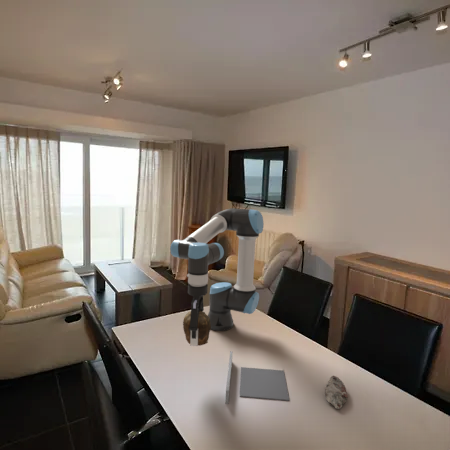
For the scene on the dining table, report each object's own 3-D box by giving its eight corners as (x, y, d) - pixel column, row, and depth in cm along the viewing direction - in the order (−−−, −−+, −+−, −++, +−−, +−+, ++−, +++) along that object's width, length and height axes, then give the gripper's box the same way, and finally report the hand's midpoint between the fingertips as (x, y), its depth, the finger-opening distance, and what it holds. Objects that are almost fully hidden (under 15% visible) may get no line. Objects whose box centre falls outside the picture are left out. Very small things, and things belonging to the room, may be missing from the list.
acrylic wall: (229, 362, 136) (230, 351, 135) (232, 362, 136) (232, 351, 135) (225, 403, 110) (225, 390, 109) (228, 403, 110) (228, 390, 109)
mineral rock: (342, 414, 107) (343, 402, 107) (319, 404, 112) (320, 393, 111) (351, 391, 120) (353, 380, 119) (330, 383, 124) (331, 373, 123)
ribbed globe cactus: (176, 343, 119) (177, 314, 118) (192, 332, 129) (193, 304, 127) (200, 351, 114) (201, 321, 113) (215, 339, 124) (216, 310, 122)
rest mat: (240, 367, 132) (240, 367, 132) (283, 371, 130) (283, 370, 130) (239, 396, 114) (239, 395, 114) (289, 400, 113) (289, 399, 113)
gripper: (193, 273, 130) (192, 323, 133) (181, 293, 107) (180, 353, 110) (211, 274, 130) (209, 324, 133) (203, 295, 107) (201, 354, 110)
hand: (196, 337), depth 122 cm, fingers closed on ribbed globe cactus, 11 cm apart
